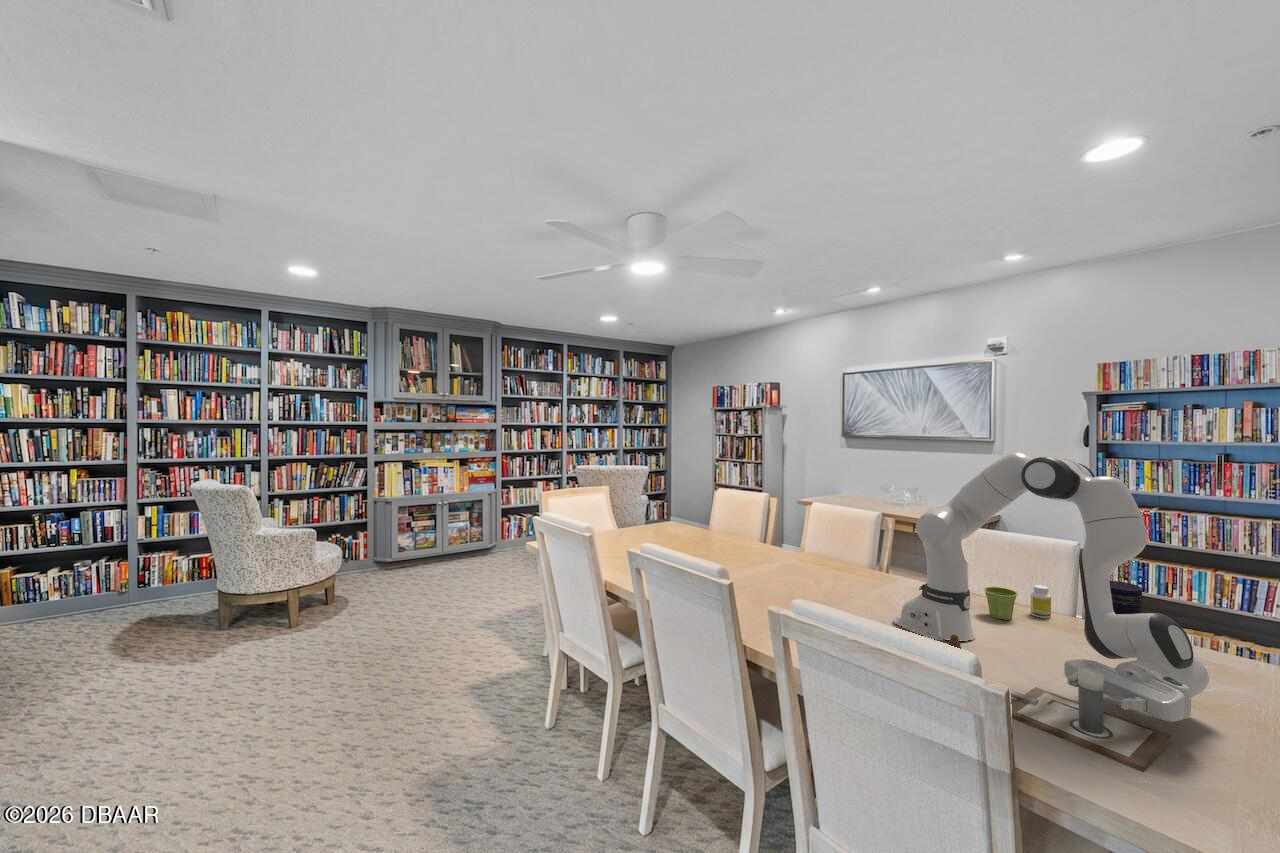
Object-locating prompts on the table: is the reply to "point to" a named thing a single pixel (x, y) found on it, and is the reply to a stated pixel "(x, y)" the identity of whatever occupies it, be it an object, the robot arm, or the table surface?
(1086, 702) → the marker
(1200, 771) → the table surface
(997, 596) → the plant pot
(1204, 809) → the table surface
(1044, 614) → the supplement bottle
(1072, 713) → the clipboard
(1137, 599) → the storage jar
